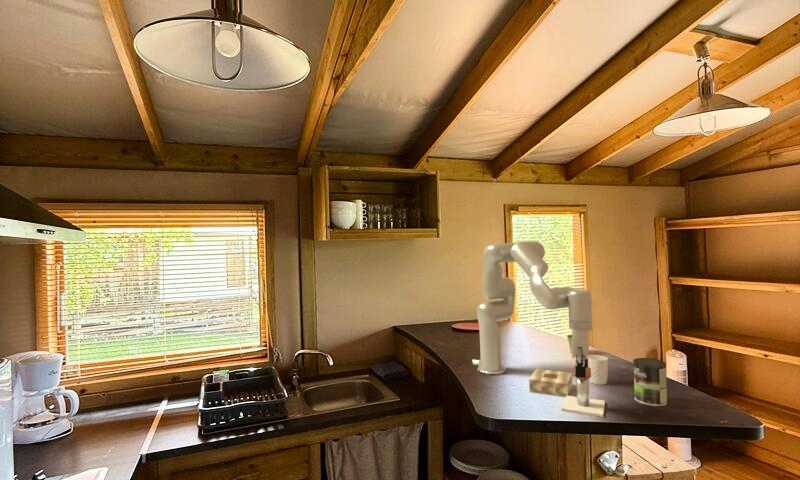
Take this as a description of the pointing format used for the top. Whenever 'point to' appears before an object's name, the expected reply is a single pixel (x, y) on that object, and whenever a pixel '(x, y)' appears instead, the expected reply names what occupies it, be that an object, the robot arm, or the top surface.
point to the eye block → (551, 382)
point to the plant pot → (570, 342)
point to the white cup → (598, 369)
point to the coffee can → (650, 381)
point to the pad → (593, 409)
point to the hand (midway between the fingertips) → (582, 373)
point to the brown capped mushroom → (583, 388)
